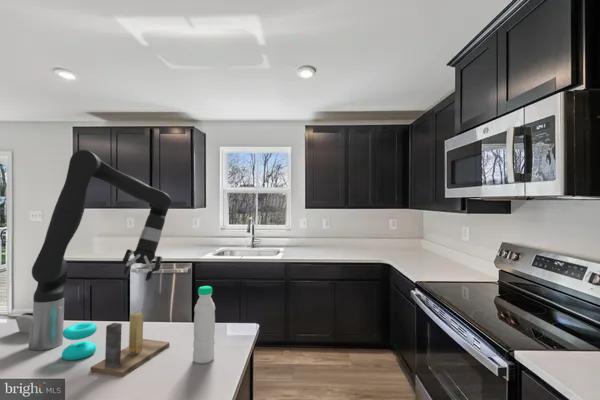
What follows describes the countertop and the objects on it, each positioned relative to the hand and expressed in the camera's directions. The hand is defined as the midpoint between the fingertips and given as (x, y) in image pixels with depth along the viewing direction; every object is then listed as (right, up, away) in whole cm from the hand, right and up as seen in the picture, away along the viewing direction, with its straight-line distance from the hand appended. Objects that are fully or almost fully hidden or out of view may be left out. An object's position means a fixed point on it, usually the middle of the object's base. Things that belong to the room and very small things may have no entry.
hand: (136, 278), depth 130 cm
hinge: (-42, -23, +2) cm, 48 cm away
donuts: (-12, -23, -17) cm, 31 cm away
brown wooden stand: (+9, -23, -18) cm, 30 cm away
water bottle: (+33, -24, -19) cm, 45 cm away
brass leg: (+9, -21, -18) cm, 29 cm away
